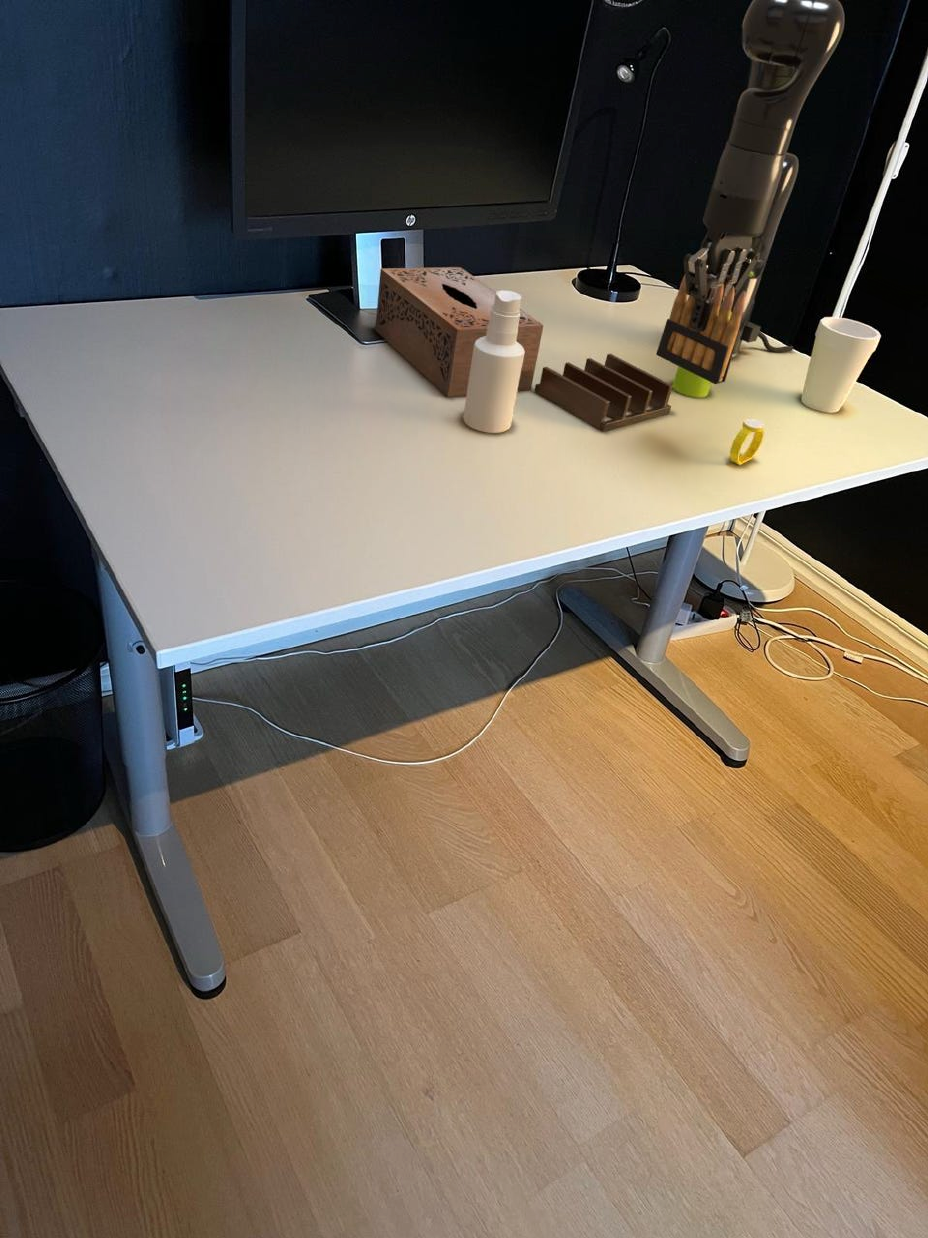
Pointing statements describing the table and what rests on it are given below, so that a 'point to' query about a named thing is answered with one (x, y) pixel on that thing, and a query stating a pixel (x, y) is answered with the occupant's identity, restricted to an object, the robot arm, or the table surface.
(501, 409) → the spray bottle
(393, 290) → the tissue box cover
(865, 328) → the foam cup
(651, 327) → the table surface
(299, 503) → the table surface
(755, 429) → the watch
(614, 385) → the slotted rack
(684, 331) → the ammunition clip
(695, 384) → the soap dispenser
